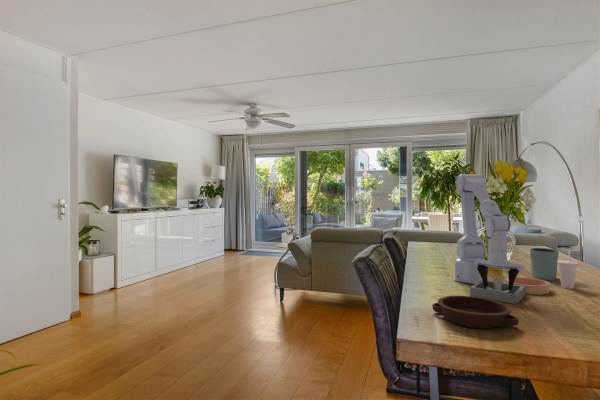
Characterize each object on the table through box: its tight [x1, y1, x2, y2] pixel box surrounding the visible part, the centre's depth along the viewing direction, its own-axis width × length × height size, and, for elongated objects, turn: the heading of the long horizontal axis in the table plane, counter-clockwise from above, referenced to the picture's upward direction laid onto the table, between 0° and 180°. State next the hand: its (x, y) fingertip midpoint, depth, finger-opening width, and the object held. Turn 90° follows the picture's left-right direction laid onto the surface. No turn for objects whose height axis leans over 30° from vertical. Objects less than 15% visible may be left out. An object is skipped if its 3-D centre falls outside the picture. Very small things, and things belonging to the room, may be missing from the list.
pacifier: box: [486, 277, 510, 293], centre depth 120 cm, size 7×6×6 cm
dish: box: [431, 295, 520, 329], centre depth 97 cm, size 17×22×5 cm
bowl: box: [504, 276, 551, 295], centre depth 128 cm, size 14×14×3 cm
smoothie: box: [557, 250, 579, 290], centre depth 130 cm, size 6×6×14 cm
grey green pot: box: [529, 247, 560, 281], centre depth 146 cm, size 10×10×12 cm
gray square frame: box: [469, 280, 526, 305], centre depth 121 cm, size 14×14×3 cm
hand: (497, 288), depth 121 cm, fingers open, 7 cm apart
